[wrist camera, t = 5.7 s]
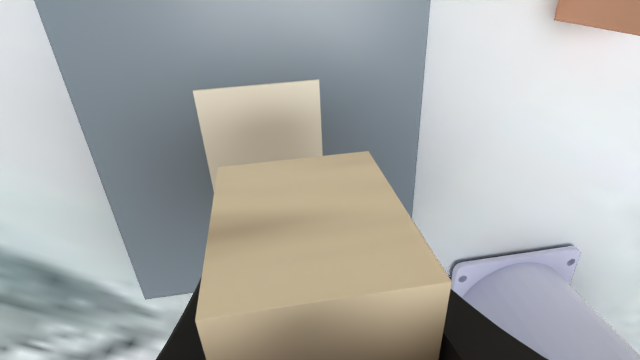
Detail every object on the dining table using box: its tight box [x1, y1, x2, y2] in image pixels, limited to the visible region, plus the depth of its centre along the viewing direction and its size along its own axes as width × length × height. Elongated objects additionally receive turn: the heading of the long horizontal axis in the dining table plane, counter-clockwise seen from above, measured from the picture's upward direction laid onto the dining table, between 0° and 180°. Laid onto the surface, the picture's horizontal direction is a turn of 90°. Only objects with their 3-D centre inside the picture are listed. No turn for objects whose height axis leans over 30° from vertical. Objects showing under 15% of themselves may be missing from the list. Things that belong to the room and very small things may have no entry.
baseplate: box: [34, 0, 430, 300], centre depth 17 cm, size 14×14×1 cm
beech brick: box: [195, 151, 452, 360], centre depth 10 cm, size 6×4×5 cm, turn 2°
